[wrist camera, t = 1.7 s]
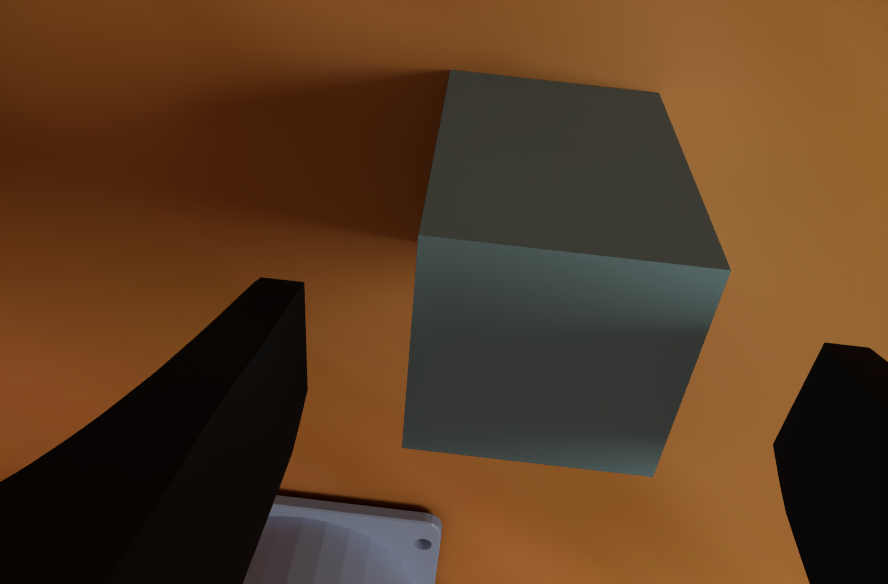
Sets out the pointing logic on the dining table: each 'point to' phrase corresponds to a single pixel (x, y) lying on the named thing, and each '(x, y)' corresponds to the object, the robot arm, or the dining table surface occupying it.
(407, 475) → the dining table surface
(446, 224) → the block
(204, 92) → the dining table surface
